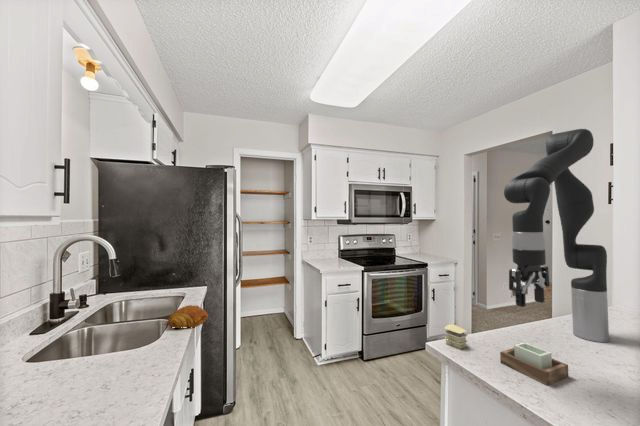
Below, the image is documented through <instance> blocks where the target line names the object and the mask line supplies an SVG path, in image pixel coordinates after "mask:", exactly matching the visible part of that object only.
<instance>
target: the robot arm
mask: <svg viewBox="0 0 640 426" xmlns="http://www.w3.org/2000/svg"><path fill="white" fill-rule="evenodd" d="M594 143H595V142H594V136H593V134H592V132H591V131H590V130H589V129H587V128H577V129H572V130H567V131H562V132H555V133H552V134H550V135H549V136H547V138H546V142H545V151H546V156H545V157H543V158H541V159H539V160H537V161H536V162H535V163H534V164H533V165H532V166H531V167H530V168H529V169H528V170H526V171H525V172H522V173H520V174H519V175H517V176H515V177H514V178H512V179H511V180H509V181H507V184H506V185H505V186H504V190H503V195H504V196H503V197H504V198H505V200H506V201H508V203H512V204H528V206H527V208H526V209H525V210H520V211H517V212H513V214H512V218H511V219H512V220H511V221H512V222H511V223H512V236H511V237H512V238H511V243H512V244H511V246H512V247H511V249H512V262H513V263H514V264H516V265H517V267H516V269H514V268H513V269H512V268H510V269H509V270H508V289H509V291H512V292H514V293H515V294H514V295H515V296H514V297H515V304H516V306H518V307H522V308H525V307H526V306H527V305H526V304H527V303H526V300H527V299H526V291H527V288H529V287H530V286H531V284H532V285H533V287H534V289H533V292H534V294H533V295H534V301H535V302H537V303H541V304H542V303H545V291H546V289H547V288H548V287H550V271H549V266H547V265H546V260H547V259H546V239H545V236H544V235H545V234H544V215H545V210H546V207H547V203H548V200H549V199H550V192H551V184H554V191H555V197H556V205H557V209H558V210H557V211H558V214H559V219H560V226H561V231H562V240H563V241H562V243H563V256H564V257H563V258H564V261H565V264H566V265H567V267H568V268H571V269H575V270H576V269H577V270H584V271H591V272H592V274H590V275H587V276H583V277H577V278H576V277H575V278H572V279H571V280H570V288H571V291H570V293H571V310H572V311H571V313H572V334H573V335H575V336H576V337H578V338H581V339H584V340H587V341H592V342H597V343H600V342H601V343H607V342H609V341H610V331H609V330H610V327H609V308H608V307H609V305H608V304H609V303H608V302H609V301H608V286H607V285H608V284H607V283H608V281H607V266H608V265H607V264H608V263H607V262H608V254H607V250H606V248H605V246H603V245H600V244H586V243H585V244H582V243H577V238H578V237H577V236H578V235H579V234H580V232H581V230H582V229H583V227H584V226H585V225H586V224H587V223H588V221H590V219H591V218H592V216H593V215H594V213H595V207H594V206H595V204H594V199H593V198H594V197H593V193H592V191H591V190H590V189H589V188H588V186H587V185H586V184H585V183H584V182H583V181H581V180H580V179H579V178H578V177H576V176H575V175H574V173H573V172H572V171H571V170H570V167H571V166H572V165H574V164H576V163H577V162H579V161H580V160H582V159H583V158H585V157H586V156H589V154H590V153H591V151H592V150H593V147H594ZM553 182H554V183H553ZM514 284H515V285H514Z"/></svg>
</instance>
